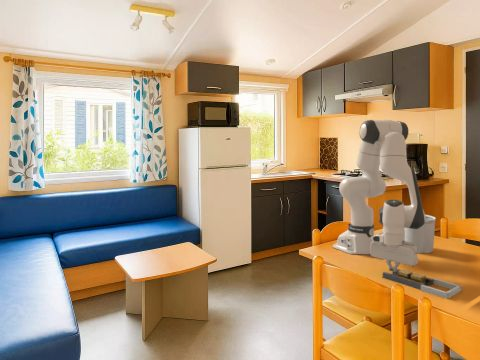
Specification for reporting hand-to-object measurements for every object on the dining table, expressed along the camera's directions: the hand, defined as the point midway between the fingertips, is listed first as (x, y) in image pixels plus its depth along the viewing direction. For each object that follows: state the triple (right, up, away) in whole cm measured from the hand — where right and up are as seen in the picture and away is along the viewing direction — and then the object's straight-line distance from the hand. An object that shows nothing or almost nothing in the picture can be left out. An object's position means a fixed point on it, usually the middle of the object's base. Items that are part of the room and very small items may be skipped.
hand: (392, 271), depth 164 cm
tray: (+12, -5, -16) cm, 20 cm away
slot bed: (+4, -4, -5) cm, 7 cm away
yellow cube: (+7, -3, -9) cm, 11 cm away
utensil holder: (+29, +2, +39) cm, 49 cm away
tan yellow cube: (+3, -3, -4) cm, 6 cm away
